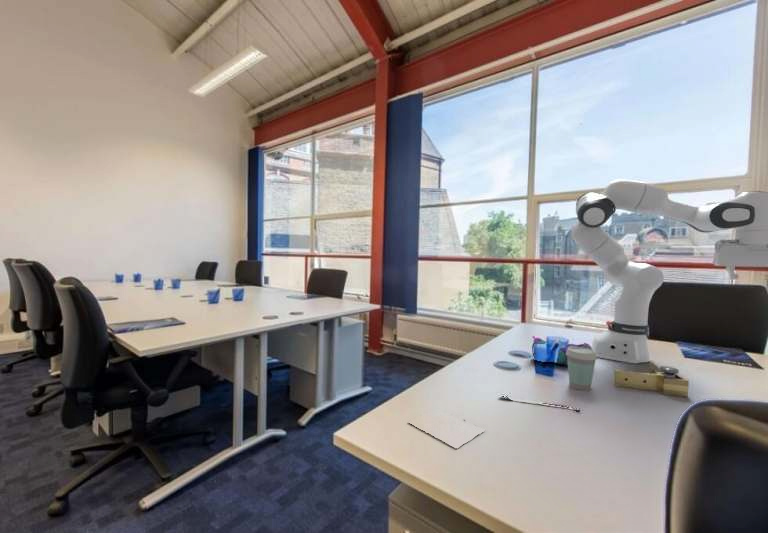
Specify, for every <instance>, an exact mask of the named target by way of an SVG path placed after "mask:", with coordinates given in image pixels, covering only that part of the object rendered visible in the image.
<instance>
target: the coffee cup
mask: <svg viewBox="0 0 768 533" xmlns="http://www.w3.org/2000/svg"><path fill="white" fill-rule="evenodd" d="M566 355H567V361H568V366H567V370H568V371H567V372H568V380H569V382H568V383H569V386H570V387H571V388H572V387H573V389H574V388H575V389H576V390H577V391H584V390H587V391H590V390H591V388H592V383H593V382H592V381H593V376H594V370H595V367H596V366H595V365H596V360H597V358H598V357H596V354H595V351H593V350H591V349H588V348H583V347H569V348H568V350H567V351H566Z"/></svg>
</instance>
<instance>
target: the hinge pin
mask: <svg viewBox="0 0 768 533" xmlns="http://www.w3.org/2000/svg"><path fill="white" fill-rule="evenodd" d="M660 370H661V371H663V375H664V376H665V377H666V378H675V374H679V373H680V370H679V369H678V368H676V367H673V366H667V365H666V366H665V365H662V366H660Z"/></svg>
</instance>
